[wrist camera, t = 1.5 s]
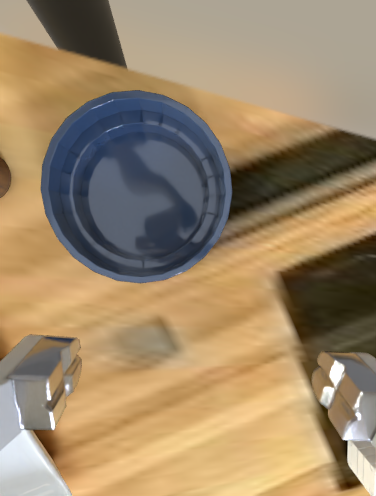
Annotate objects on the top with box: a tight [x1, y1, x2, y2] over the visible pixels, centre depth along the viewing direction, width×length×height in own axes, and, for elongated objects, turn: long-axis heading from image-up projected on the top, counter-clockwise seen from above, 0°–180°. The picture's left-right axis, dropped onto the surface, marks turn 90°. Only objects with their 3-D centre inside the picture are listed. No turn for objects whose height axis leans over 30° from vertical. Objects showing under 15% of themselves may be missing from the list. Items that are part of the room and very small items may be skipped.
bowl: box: [41, 90, 232, 283], centre depth 27 cm, size 21×21×6 cm
